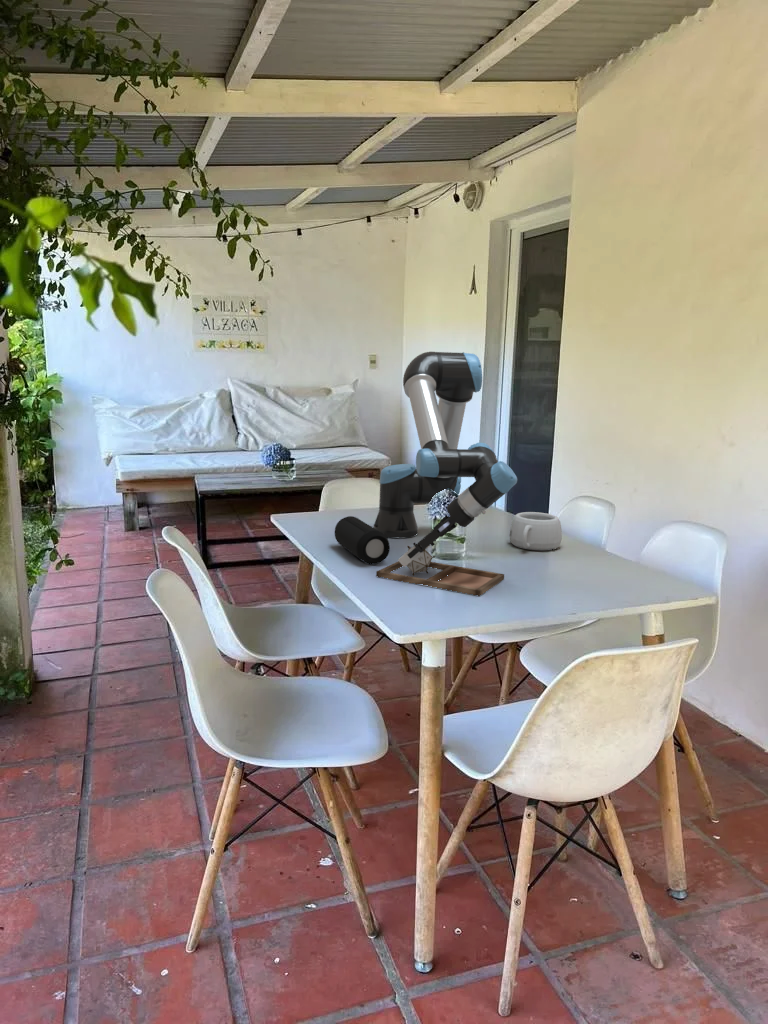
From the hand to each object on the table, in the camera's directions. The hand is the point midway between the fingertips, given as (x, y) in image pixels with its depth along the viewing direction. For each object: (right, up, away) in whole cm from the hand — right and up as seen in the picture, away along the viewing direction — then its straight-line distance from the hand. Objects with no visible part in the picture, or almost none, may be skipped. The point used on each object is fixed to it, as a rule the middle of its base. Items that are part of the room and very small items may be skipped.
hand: (406, 559), depth 208 cm
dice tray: (+9, -5, -3) cm, 11 cm away
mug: (+42, +1, +35) cm, 55 cm away
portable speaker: (-13, 0, +18) cm, 22 cm away
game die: (+3, -4, 0) cm, 5 cm away
